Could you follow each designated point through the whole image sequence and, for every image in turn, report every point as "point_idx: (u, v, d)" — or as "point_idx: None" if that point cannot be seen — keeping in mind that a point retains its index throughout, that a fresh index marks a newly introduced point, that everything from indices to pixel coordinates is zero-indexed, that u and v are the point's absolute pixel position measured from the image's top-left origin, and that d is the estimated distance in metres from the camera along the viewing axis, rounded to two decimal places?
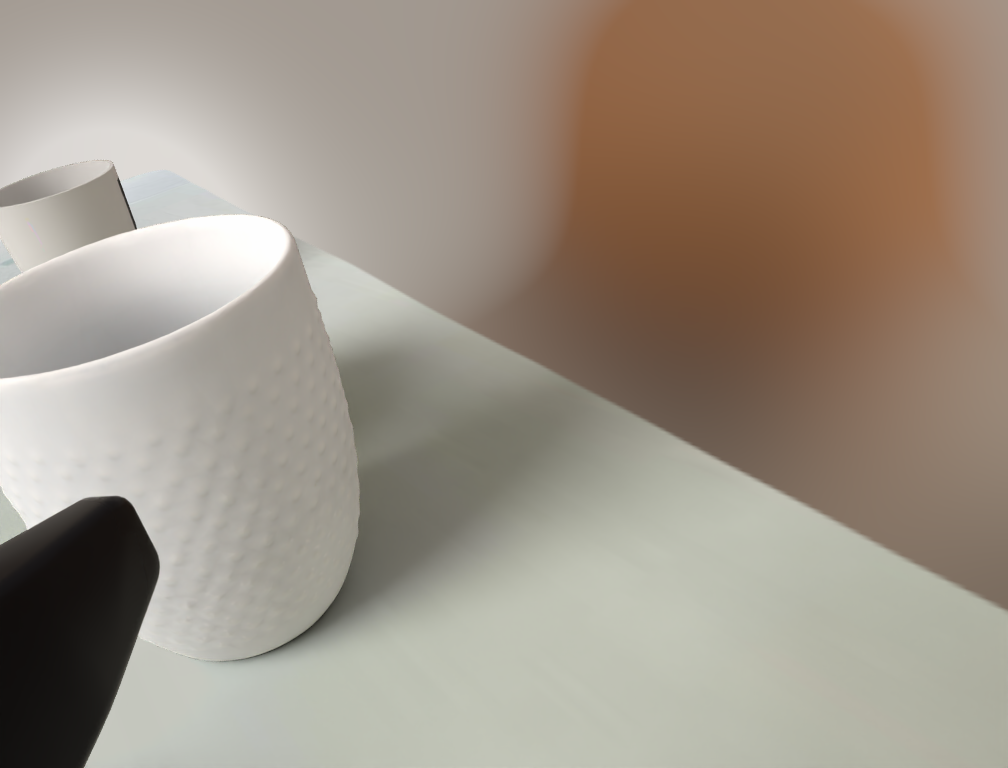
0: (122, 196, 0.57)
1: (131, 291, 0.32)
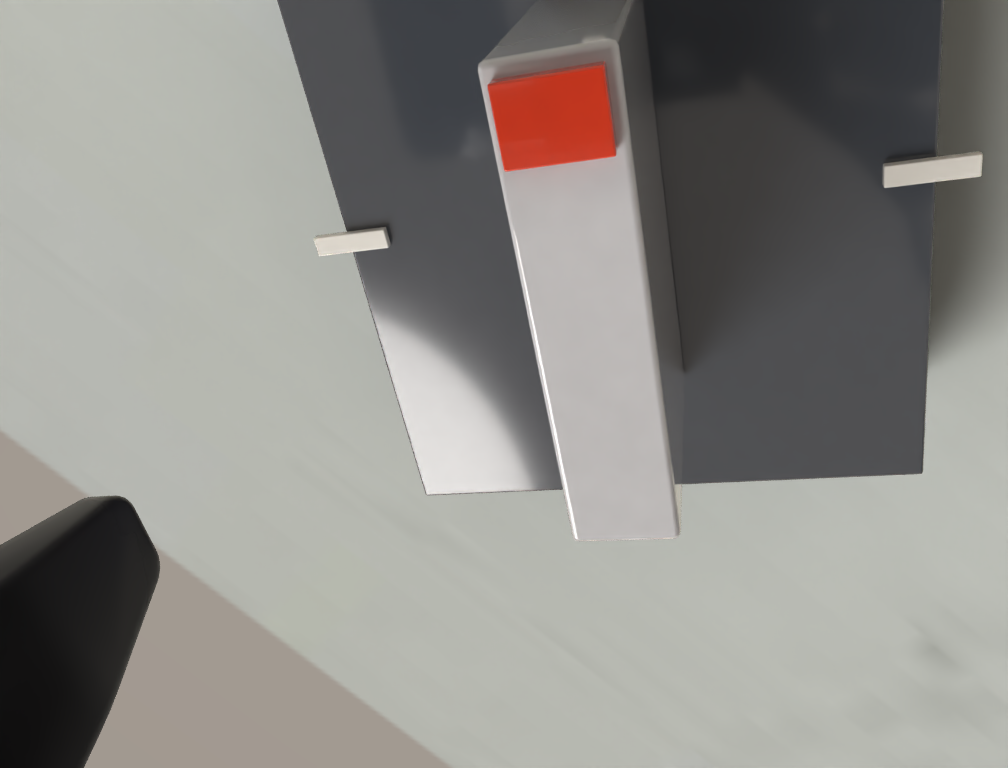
0: None
1: None
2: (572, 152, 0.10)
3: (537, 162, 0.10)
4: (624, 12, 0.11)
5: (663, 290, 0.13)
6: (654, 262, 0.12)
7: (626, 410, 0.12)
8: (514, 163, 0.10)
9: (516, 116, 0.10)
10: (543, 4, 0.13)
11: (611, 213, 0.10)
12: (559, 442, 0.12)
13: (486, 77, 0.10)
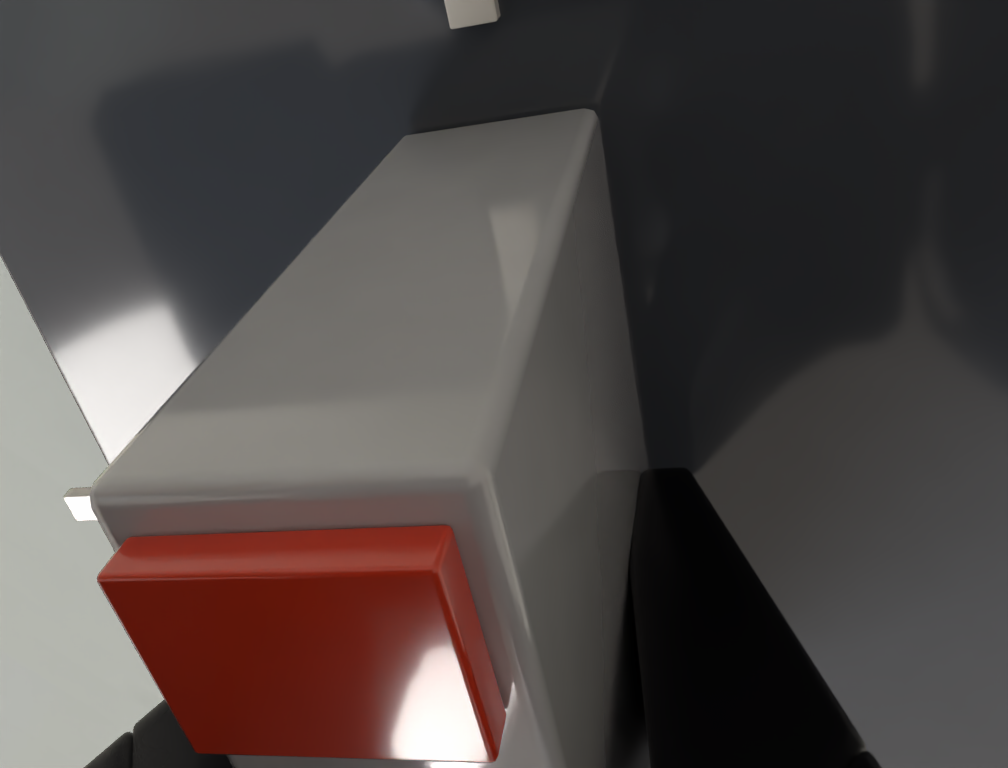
0: None
1: None
2: (371, 742, 0.03)
3: (279, 749, 0.04)
4: (542, 260, 0.04)
5: (645, 728, 0.07)
6: (623, 766, 0.05)
7: None
8: (218, 744, 0.04)
9: (197, 654, 0.03)
10: (397, 166, 0.06)
11: None
12: None
13: (112, 530, 0.03)
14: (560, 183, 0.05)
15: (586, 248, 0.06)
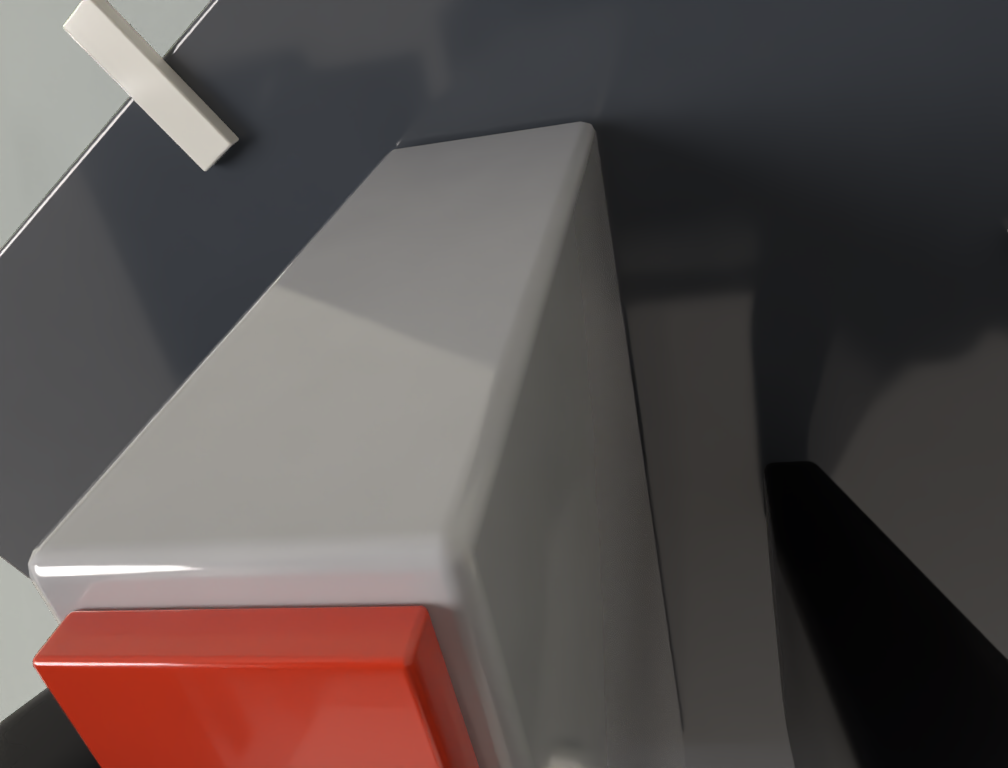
0: None
1: None
2: None
3: None
4: (533, 292, 0.04)
5: None
6: None
7: None
8: None
9: (146, 742, 0.03)
10: (383, 183, 0.06)
11: None
12: None
13: (52, 604, 0.03)
14: (554, 204, 0.05)
15: (582, 273, 0.05)
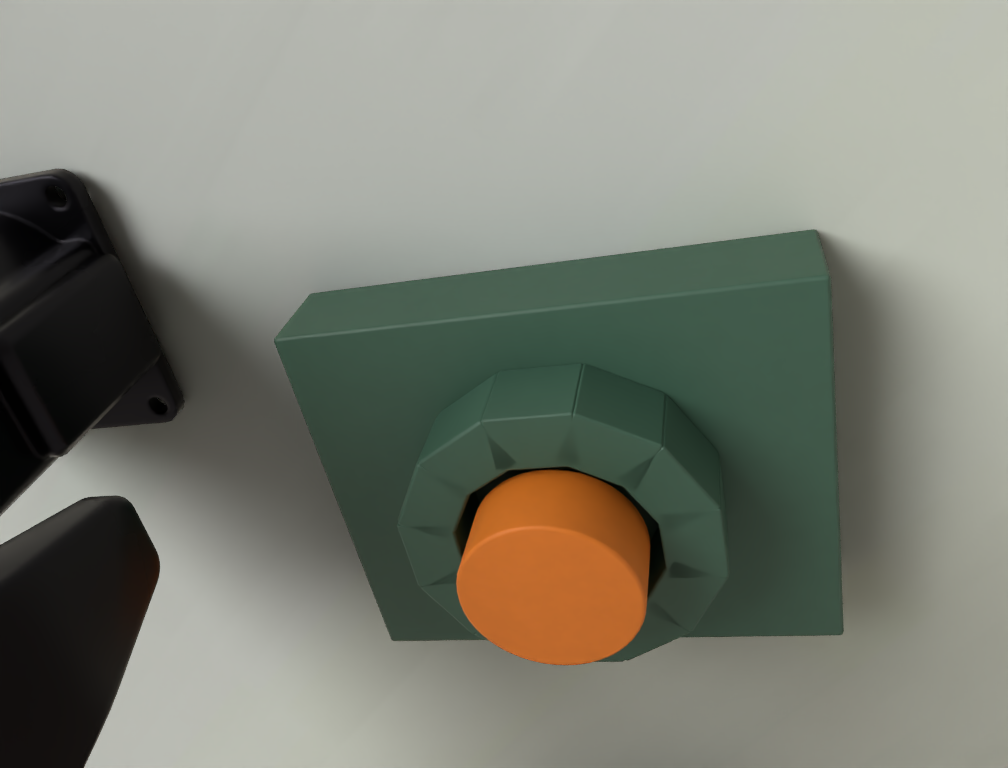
0: None
1: None
2: None
3: None
4: None
5: None
6: None
7: None
8: None
9: None
10: None
11: None
12: None
13: None
14: None
15: None
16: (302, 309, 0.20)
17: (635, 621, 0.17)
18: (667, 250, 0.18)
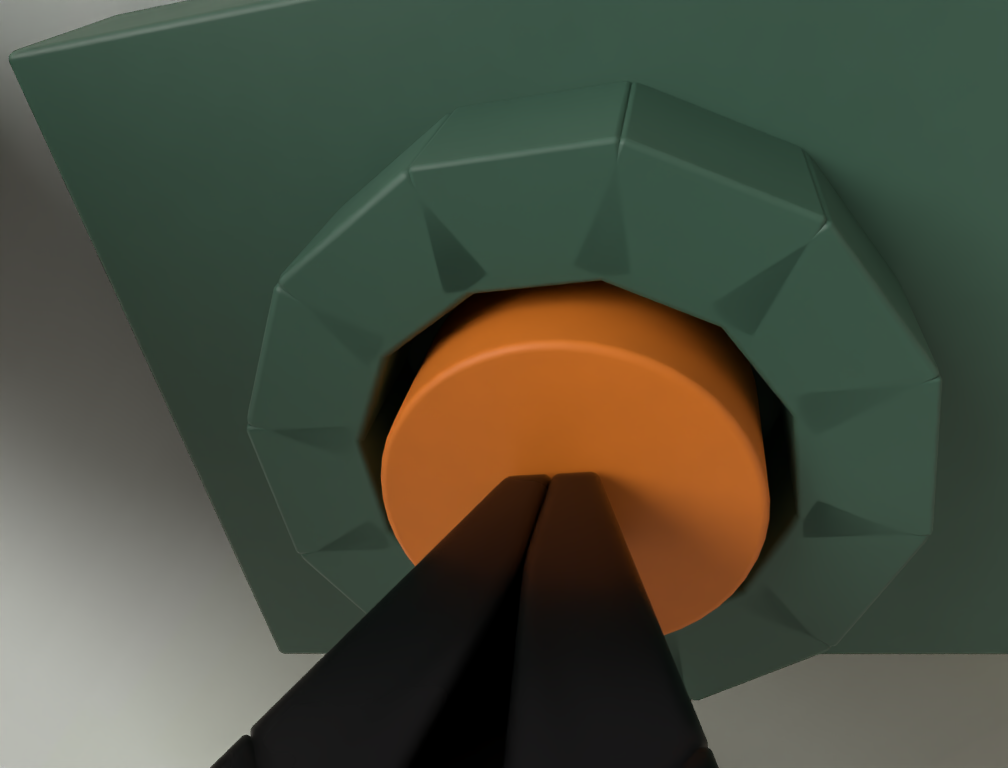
0: None
1: None
2: None
3: None
4: None
5: None
6: None
7: None
8: None
9: None
10: None
11: None
12: None
13: None
14: None
15: None
16: (88, 26, 0.10)
17: (742, 556, 0.08)
18: None
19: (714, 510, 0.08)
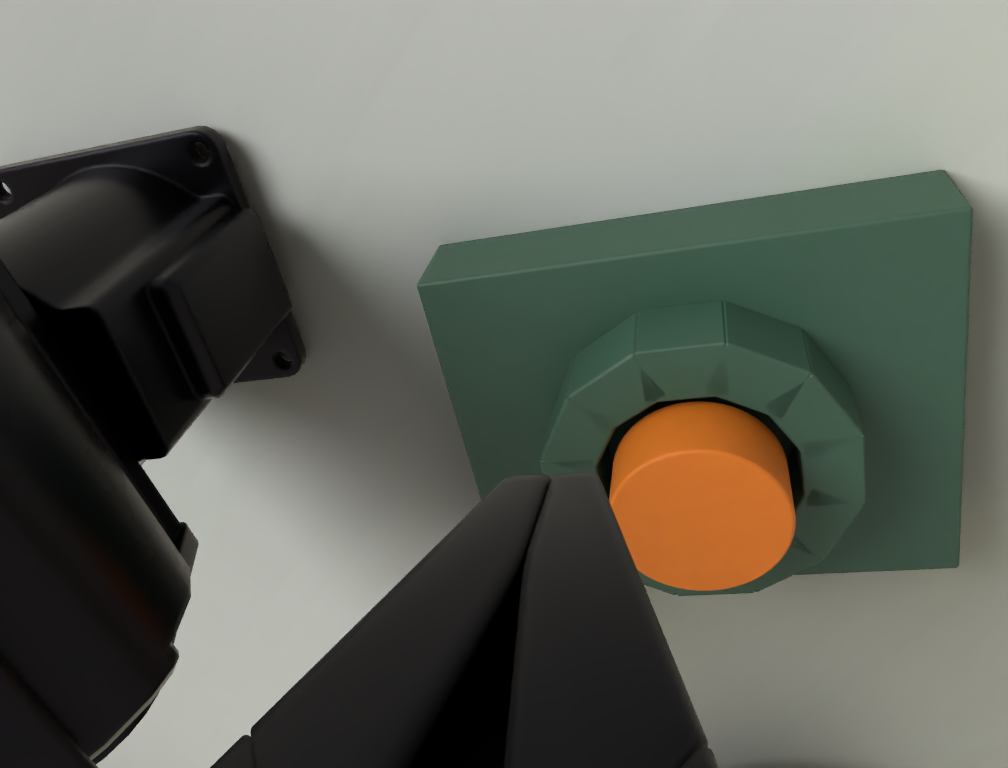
0: None
1: None
2: None
3: None
4: None
5: None
6: None
7: None
8: None
9: None
10: None
11: None
12: None
13: None
14: None
15: None
16: (437, 258, 0.20)
17: (783, 544, 0.17)
18: (797, 193, 0.19)
19: (770, 522, 0.17)
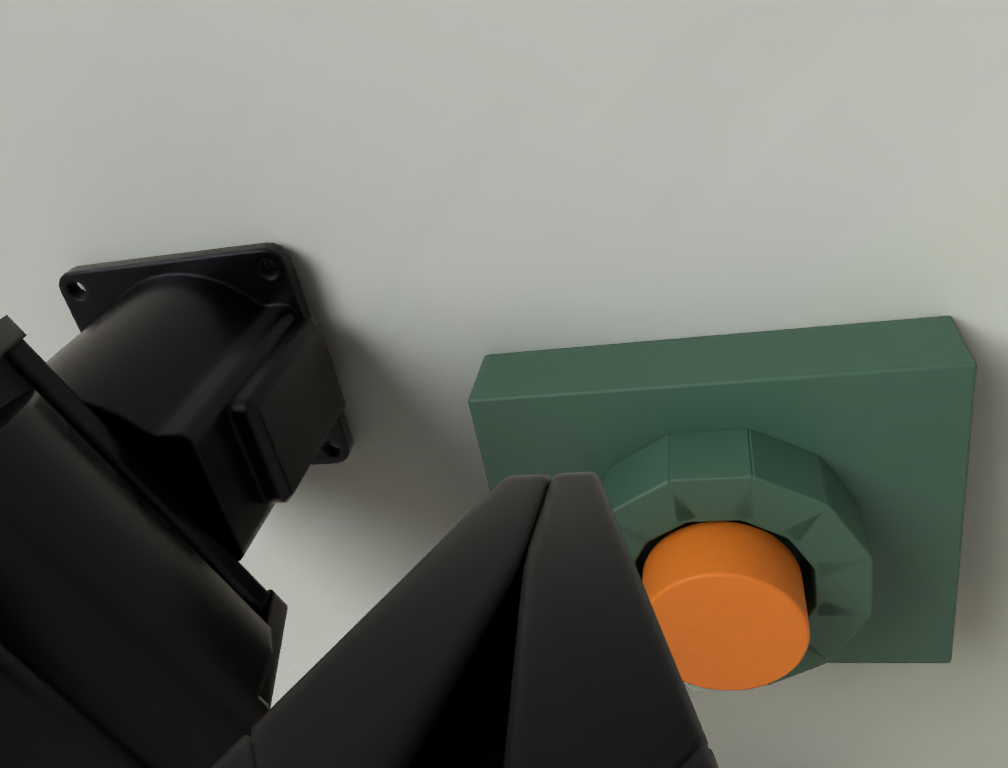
0: None
1: None
2: None
3: None
4: None
5: None
6: None
7: None
8: None
9: None
10: None
11: None
12: None
13: None
14: None
15: None
16: (484, 371, 0.22)
17: (797, 655, 0.19)
18: (817, 329, 0.21)
19: (786, 637, 0.19)
